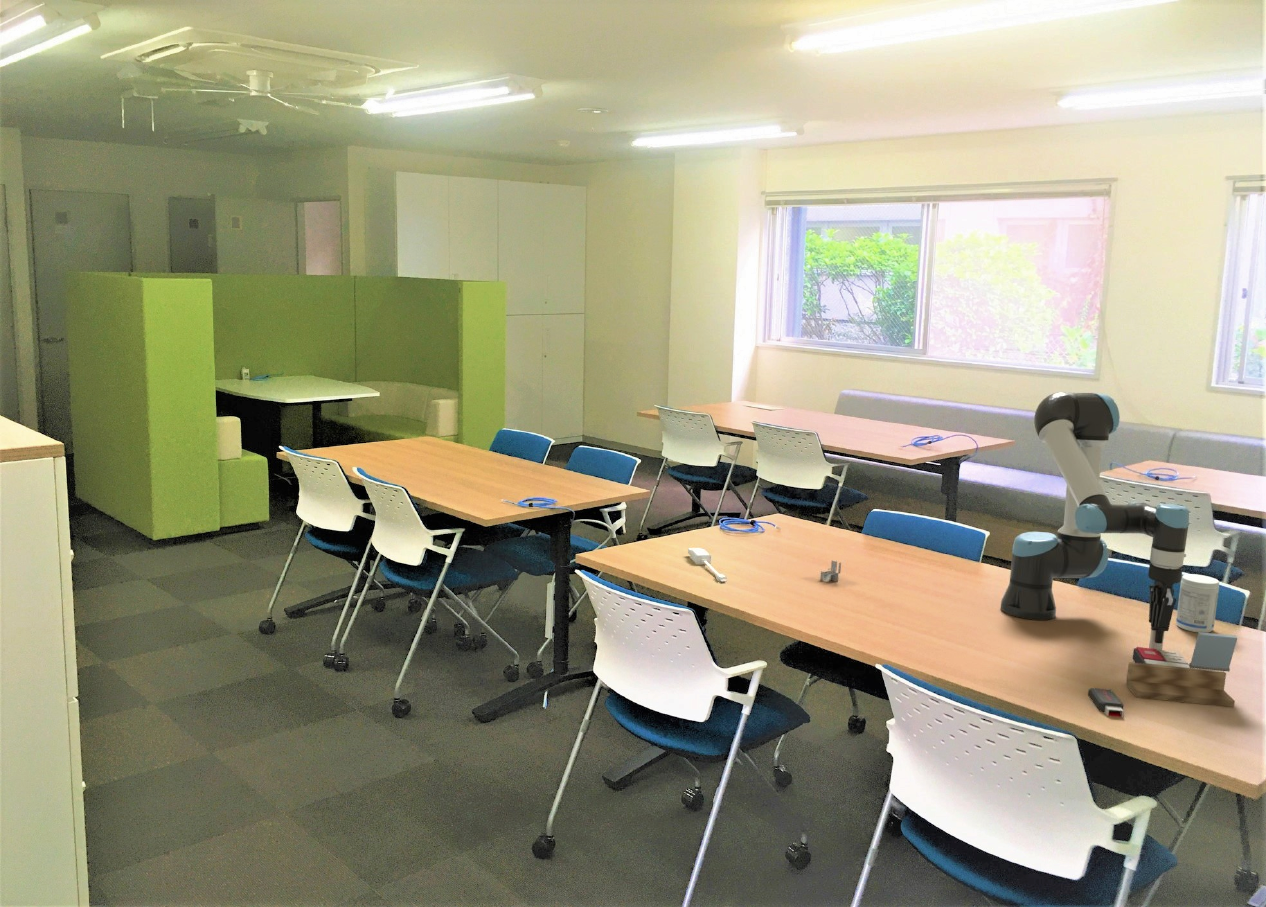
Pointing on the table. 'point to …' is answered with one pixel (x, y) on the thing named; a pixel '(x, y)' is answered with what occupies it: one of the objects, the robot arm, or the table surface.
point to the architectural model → (831, 572)
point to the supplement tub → (1197, 603)
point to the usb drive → (1106, 702)
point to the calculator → (1159, 657)
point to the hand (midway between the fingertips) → (1154, 653)
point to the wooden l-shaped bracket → (1178, 684)
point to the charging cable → (704, 561)
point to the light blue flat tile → (1213, 651)
